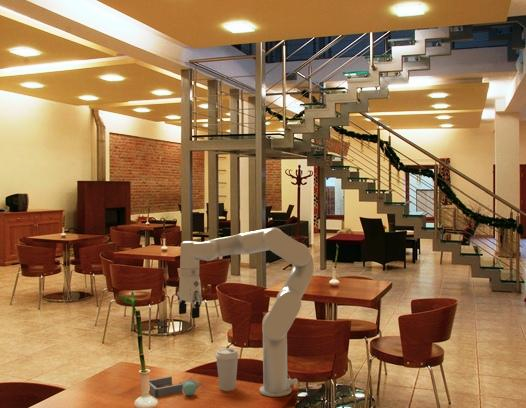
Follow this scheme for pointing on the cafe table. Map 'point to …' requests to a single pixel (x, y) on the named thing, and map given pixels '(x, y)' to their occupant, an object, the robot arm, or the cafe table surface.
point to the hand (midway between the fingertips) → (189, 315)
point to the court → (164, 390)
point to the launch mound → (191, 381)
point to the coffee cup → (227, 368)
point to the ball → (189, 388)
